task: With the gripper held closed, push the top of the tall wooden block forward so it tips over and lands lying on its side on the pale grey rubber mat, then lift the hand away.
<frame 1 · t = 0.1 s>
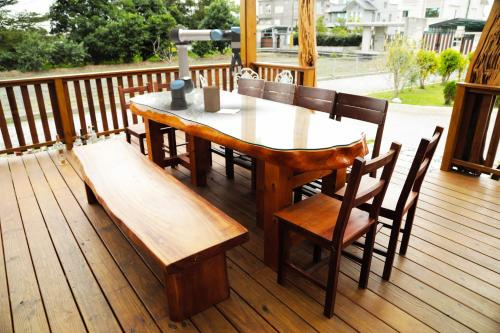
hand: (236, 74, 271), 28 cm above the table, tool pointing down, fingers open, 13 cm apart
wooden block: (212, 110, 274), on the table
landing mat: (228, 111, 270), on the table
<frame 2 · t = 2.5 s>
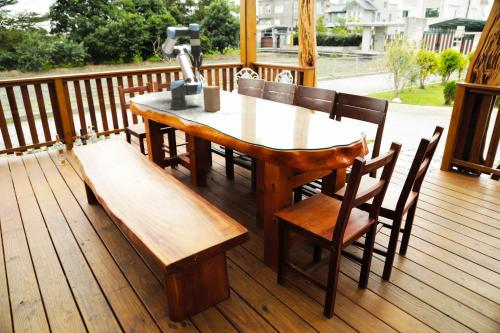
hand: (197, 75, 267), 28 cm above the table, tool pointing down, fingers closed
nothing on the table moved.
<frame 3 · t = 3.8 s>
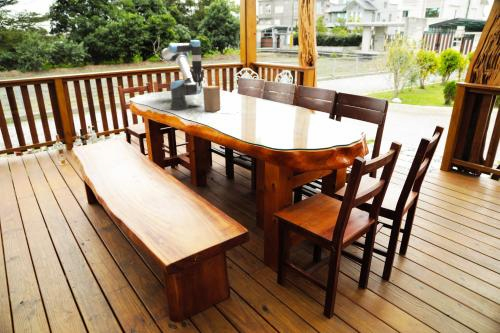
hand: (198, 90, 271), 16 cm above the table, tool pointing down, fingers closed
nothing on the table moved.
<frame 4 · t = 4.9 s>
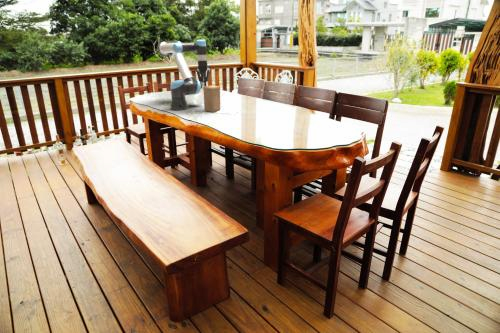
hand: (204, 90, 269), 17 cm above the table, tool pointing down, fingers closed
wooden block: (212, 110, 274), on the table, touching gripper
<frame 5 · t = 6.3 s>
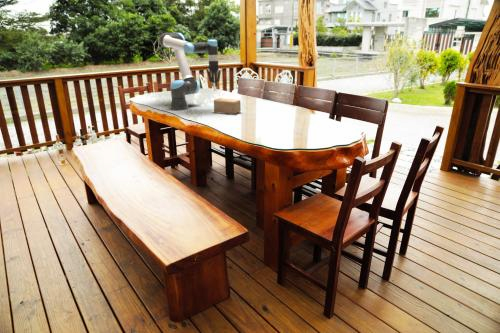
hand: (215, 90, 266), 17 cm above the table, tool pointing down, fingers closed
wooden block: (216, 104, 269), point 5 cm above the table, touching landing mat
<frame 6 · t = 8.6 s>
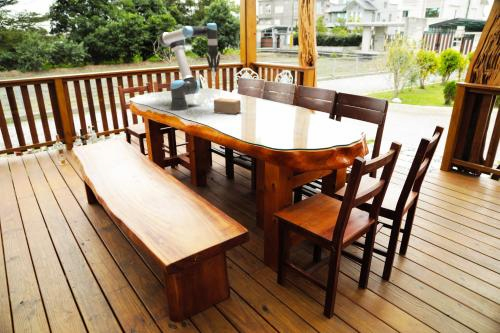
hand: (214, 76, 262), 28 cm above the table, tool pointing down, fingers closed
nothing on the table moved.
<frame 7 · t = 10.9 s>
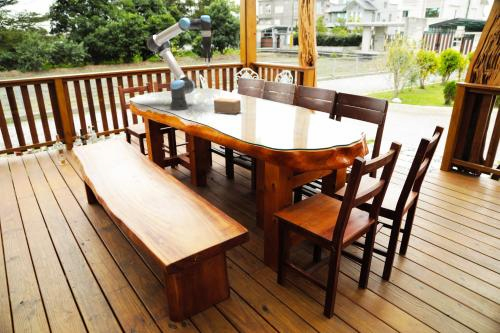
hand: (208, 66, 275), 34 cm above the table, tool pointing down, fingers closed
nothing on the table moved.
at the end: wooden block tilted 90°; wooden block inside the target area (11.1 cm from its centre), point 5.4 cm above the table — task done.
